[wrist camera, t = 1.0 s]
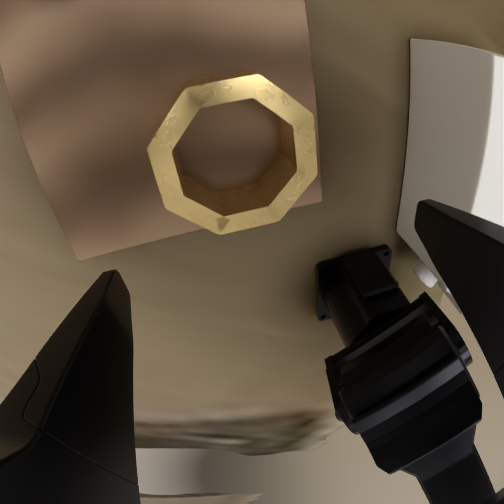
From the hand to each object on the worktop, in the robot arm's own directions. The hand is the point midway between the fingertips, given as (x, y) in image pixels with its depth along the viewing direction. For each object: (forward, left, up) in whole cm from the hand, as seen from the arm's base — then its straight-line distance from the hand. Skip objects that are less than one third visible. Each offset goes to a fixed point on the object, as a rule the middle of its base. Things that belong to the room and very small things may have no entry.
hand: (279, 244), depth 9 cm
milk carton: (+5, -16, -7) cm, 18 cm away
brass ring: (0, 0, -10) cm, 10 cm away
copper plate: (+5, +3, -11) cm, 12 cm away
